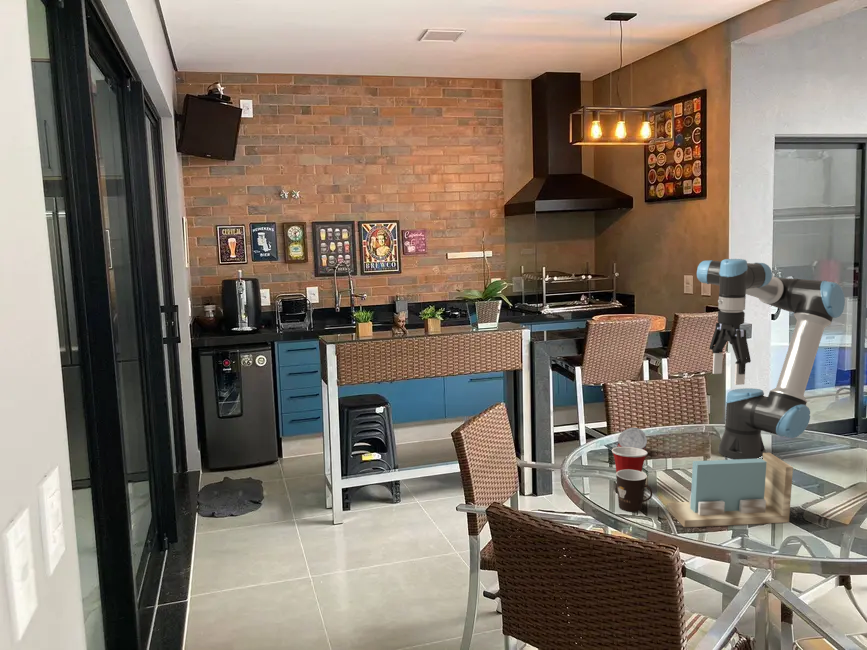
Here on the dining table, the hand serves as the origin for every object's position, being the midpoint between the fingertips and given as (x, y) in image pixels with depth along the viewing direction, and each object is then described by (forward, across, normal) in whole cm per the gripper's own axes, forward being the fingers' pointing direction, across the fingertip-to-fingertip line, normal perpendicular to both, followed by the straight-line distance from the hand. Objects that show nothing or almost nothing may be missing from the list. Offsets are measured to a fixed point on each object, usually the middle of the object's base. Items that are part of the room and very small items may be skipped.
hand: (728, 378), depth 227 cm
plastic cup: (+34, -1, -30) cm, 45 cm away
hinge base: (+34, +23, -11) cm, 42 cm away
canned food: (+34, -31, -18) cm, 50 cm away
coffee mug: (+33, +16, -36) cm, 51 cm away
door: (+32, +23, -11) cm, 41 cm away
